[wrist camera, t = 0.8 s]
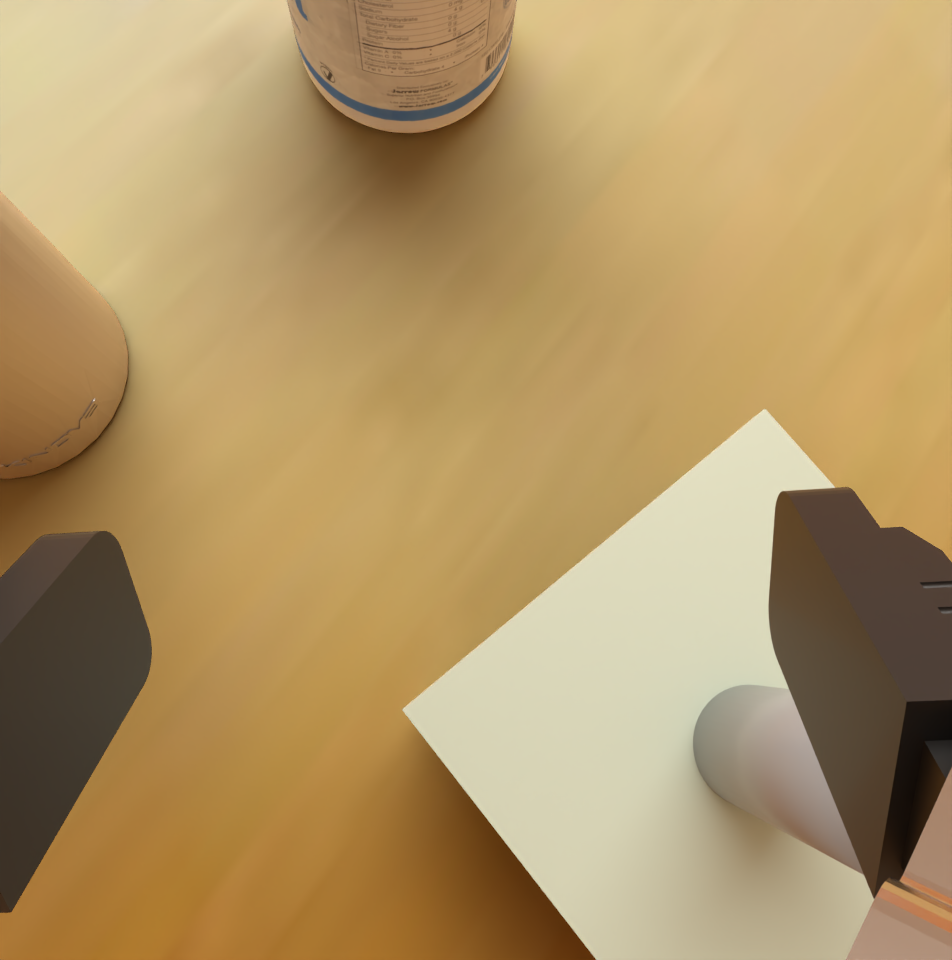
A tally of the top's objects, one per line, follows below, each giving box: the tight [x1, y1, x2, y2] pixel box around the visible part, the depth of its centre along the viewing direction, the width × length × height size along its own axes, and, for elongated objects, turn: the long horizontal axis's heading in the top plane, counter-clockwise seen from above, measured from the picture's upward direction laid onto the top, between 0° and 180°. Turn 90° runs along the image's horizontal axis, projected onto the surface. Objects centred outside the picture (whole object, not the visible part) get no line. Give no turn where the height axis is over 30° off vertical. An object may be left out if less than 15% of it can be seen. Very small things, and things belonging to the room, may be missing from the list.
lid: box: [402, 409, 874, 960], centre depth 22 cm, size 15×15×10 cm
